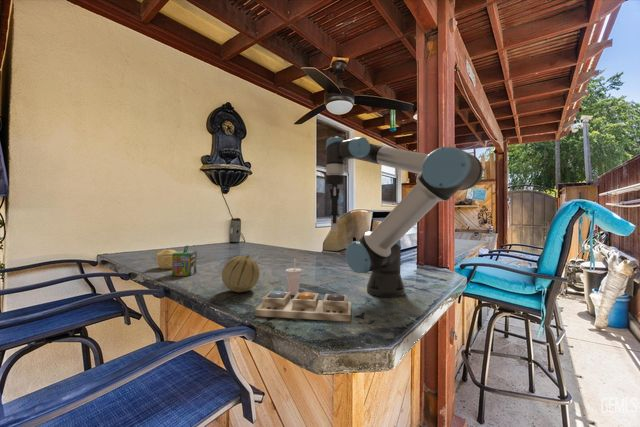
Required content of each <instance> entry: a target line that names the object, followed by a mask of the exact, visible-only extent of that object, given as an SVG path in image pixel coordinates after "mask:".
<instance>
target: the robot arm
mask: <svg viewBox="0 0 640 427" xmlns="http://www.w3.org/2000/svg"><path fill="white" fill-rule="evenodd" d="M352 159H354V160H359V161H364V162H367V163H371V164H375V165H381V166H385V167H389V168H393V169H397V170H401V171H405V172H409V173H412V174H413V173H414V174H417V176H416V184H415V185H414V186H413V187H412V188H411V189H410V191H409V192H408V193H407V194H406V195H405V196H404V197H403V198H402V199H401V200H400V201H399V203H398V204H397V205H396V206H395V207H394V208H393V209H391V211H390V212H389V213H388V215H386V217H384V219H383V220H382V221H381V222H379V224H378V225H377V226H376V227H375V228H374V229H373V230H372V231H371V230H369V231H366V232H365V233H364V234H362V236H361V237H360V238H359V239H358V240H354V241H352V242H350V243H349V244H348V245H347V246H346V248H345V253H344V254H345V260H346V261H345V262H346V264H347V265H348V267H349V268H350V269H351V270H352V271H353V273H354V272H355V273H356V274H367V273H369V272H371V273H370V275H369V278H368V281H367V284H366V285H367V286H366V291H367V293H369V294H371V295H373V296H376V297H380V298H400V297H402V296H404V295H405V293H406V291H405V289H406V288H405V284H404V281H403V279H402V276H401V258H402V257H401V256H402V254H401V251H402V250H401V249H402V244H401V239H402V238H403V237H404V236H405V235H406V234H407V233H408V232H409V231H410V230H411V229H412V228H413V227H414V226H416V224H417V223H418V222H420V221H421V219H422V218H423V217H424V216H425V215H427V213H428V212H430V211H431V210H432V209H433V208H434V207H435V206H436V205H437V204H438V203H439V202H447V201H448V200H449V199H450V198H452V197H453V196H454V194H456V193H457V192H458V191H467V190H470V189H471V188H473V187H475V186H476V185H477V184H479V182H480V181H481V179H482V177H483V174H484V167H483V164H482V162H481V161H480V159H479V158H478V157H477V156H475V155H473V154H472V153H471V154H470V153H468V152H467V151H464V150H463V149H462V148H459V147H453V146H443V147H438V148H436V149H435V150H433V151H431V152H430V153H423V152H416V151H412V150H406V149H402V148H401V149H400V148H394V147H390V146H384V145H379V144H374V143H370V141H369V140H368V139H367V137H364V136H359V137H358V136H357V137H353V138H351V139H346V140H345V139H344V138H343V137H339V136H334V137H333V136H331V137H329V138H327V139H326V142H325V166H324V170H325V174H326V176H325V184H326V185H327V186H331V188H330V189H329V194H330V200H331V211H330V213H329V216H330V232H338V220H339V218H338V216H340V214H339V211H338V204H339V202H338V201H339V199H340V198H339V196H340V188H338V186H343V185H344V184H345V183H344V182H345V181H344V178H345V177H344V176H343V175H344V174H345V160H352Z"/></svg>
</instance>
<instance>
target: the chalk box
mask: <svg viewBox="0 0 640 427" xmlns="http://www.w3.org/2000/svg"><path fill="white" fill-rule="evenodd" d="M188 249H189V245H185V246H184V249H183V250H178V251H177V252H176V253H174V254H172V269H171V270H172V271H171V273H172V275H171V276H172V277H190V276H192V275H194V274H196V273H197V259H198V258H197V257H198V256H197V255H198V254H197V250H188Z"/></svg>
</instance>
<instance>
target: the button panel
mask: <svg viewBox="0 0 640 427" xmlns="http://www.w3.org/2000/svg"><path fill="white" fill-rule="evenodd" d="M270 292H273V291H269V292H267V293H266V294H265V295H264V296H263V297H262V301H261V303H260V304H259V305H258V306H257V307H256V308H255V309H254V317H263V318H264V317H266V318H282V319H285V318H286V319H301V320H302V319H303V320H319V321H320V320H321V321H332V322H333V321H334V322H337V321H338V322H351V318H352V317H351V316H352V301H348V294H342V295H343V301H330V300H328V295H329V294H330V293H325V294H324V297H323V300H322V299H319V296H320V294H319V293H313V300H310V299H299V293H300V292H298V293H297V294H296V295H294V297H293V298H292V297H291V296H292V295H291V292H289V291H283V292H284V297H283V298H270Z"/></svg>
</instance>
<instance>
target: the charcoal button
mask: <svg viewBox="0 0 640 427" xmlns="http://www.w3.org/2000/svg"><path fill="white" fill-rule="evenodd" d="M328 294H329V295H328V300H330V301H343V295H344V294H342V293H341V294H340V293H328Z"/></svg>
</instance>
